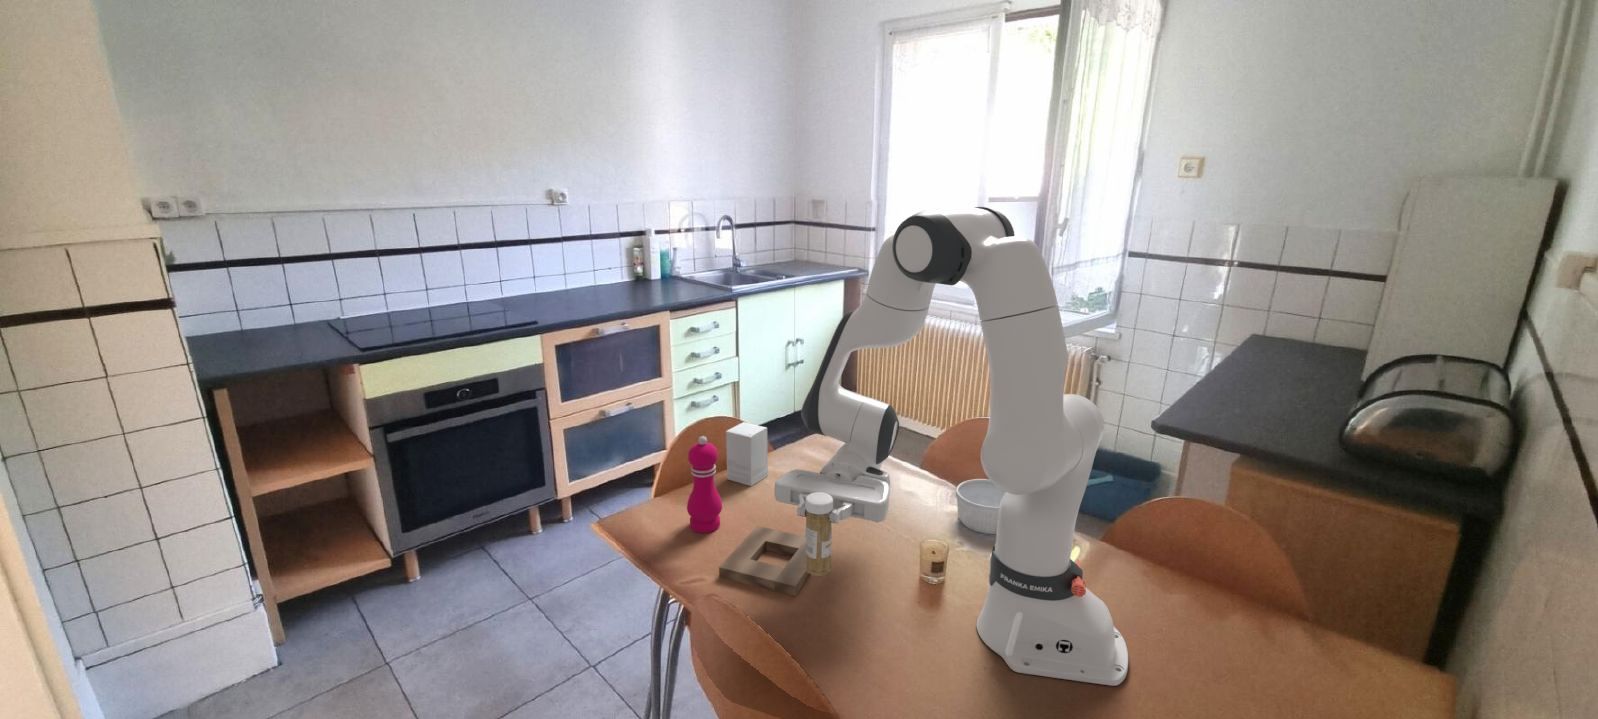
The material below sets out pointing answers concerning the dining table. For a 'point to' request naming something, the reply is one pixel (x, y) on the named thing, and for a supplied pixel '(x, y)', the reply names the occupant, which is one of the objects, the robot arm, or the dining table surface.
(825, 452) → the dining table surface
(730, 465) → the supplement box
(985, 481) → the ramekin
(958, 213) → the robot arm
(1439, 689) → the dining table surface
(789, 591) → the wooden square frame
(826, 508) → the sprinkles bottle
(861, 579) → the dining table surface
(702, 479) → the pepper mill
